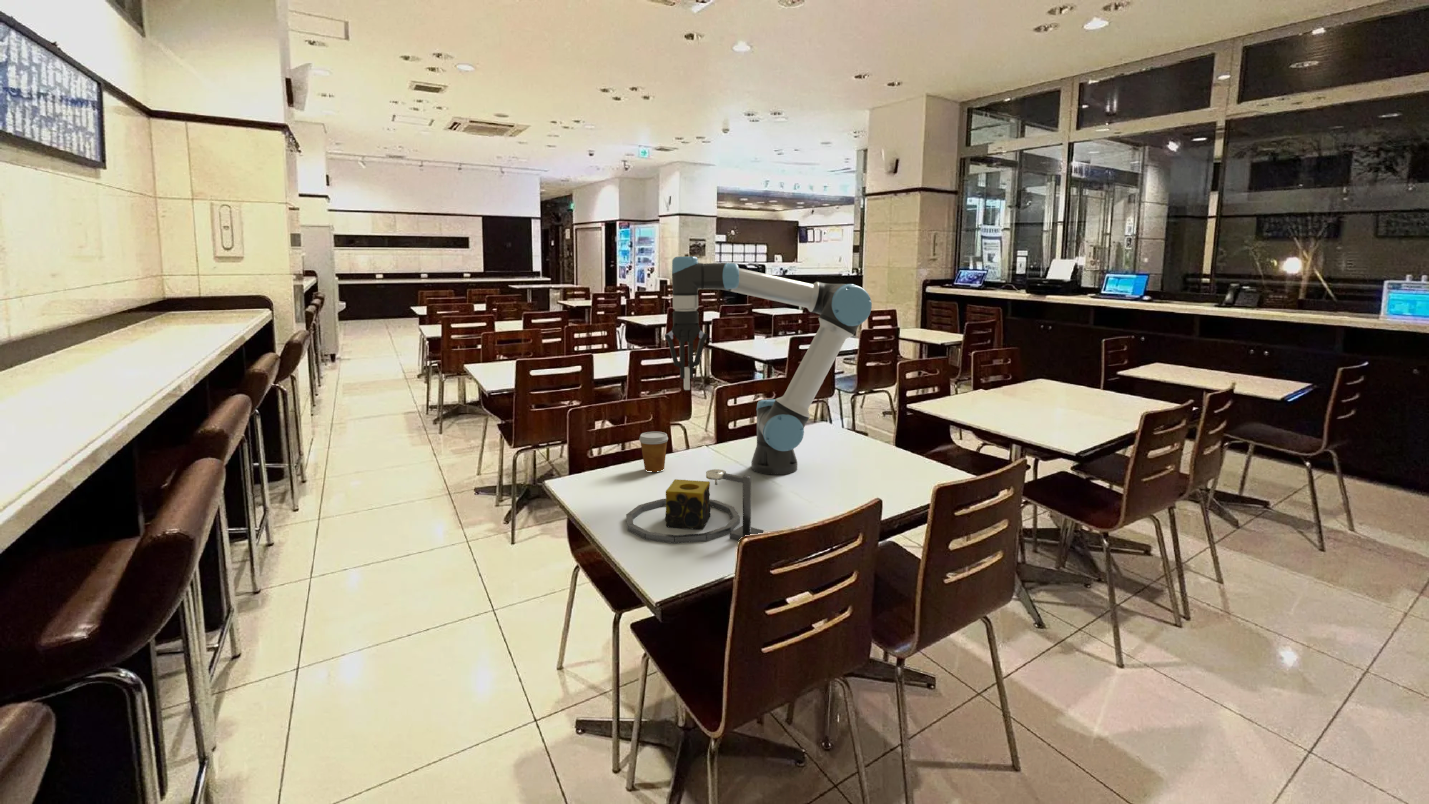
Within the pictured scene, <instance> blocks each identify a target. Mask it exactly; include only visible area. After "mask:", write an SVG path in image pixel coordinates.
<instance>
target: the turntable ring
mask: <svg viewBox="0 0 1429 804" xmlns="http://www.w3.org/2000/svg"><path fill="white" fill-rule="evenodd" d="M709 499H710V498H709ZM664 506H665V507H666V498H660V499H656V500H653V501H649V502H648V501H647V502H646V503H641V504H638V505H637V506H636V507H634V508H633V509H632V510H630V511H629V512H627V513H626V514H625V522H626V527H627V531H628V532H629V533H632V534H634V535H636V536H638V537H639V538H642V539H644V540H646V541H652V542H660V543H667V544H687V543H701V542H708V541H711V540H715V539H717V538H720V537H723V536H727V535H730V532H732V531H734V530H736V529H737V526H738V525H740V523H741V516H740V515H739V513H738V511H737V509H736V508H735V507H734V506H732V505H730V504H728V503H725V502H722V501H720V500H717V499H713V498H711V499H710V506H711V507H713V508H714V509H717V510H720V511H722V512H724V513H728V514H729V516H730V518H731V519H730V521H729V522H728V523H726V525H725V526H721V527H718V528H715V529H712V530H710V531H706V532H704V533H703V532H702V533H701V532H700V533H699V532H698V533H689V534H687V533H686V534H676V535H675V534H668V533H667V534H666V533H660V532H653V531H648V530H646V529H644V528H643V527H640V526H639V525H637V524H634V519H635V518H637V517H638V516H639V515H641V514H642V513H644V512H647V511H649V510H654V509H658V508H660V507H664Z"/></svg>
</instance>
